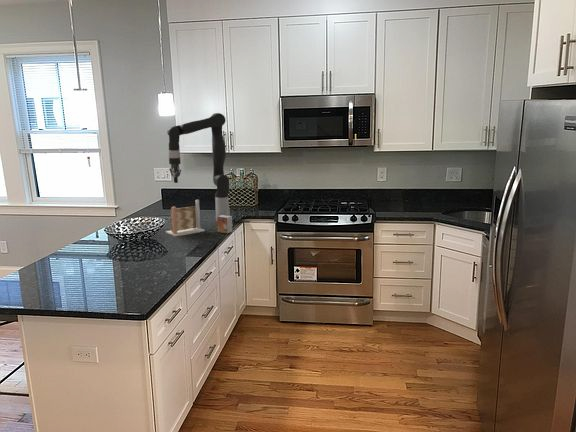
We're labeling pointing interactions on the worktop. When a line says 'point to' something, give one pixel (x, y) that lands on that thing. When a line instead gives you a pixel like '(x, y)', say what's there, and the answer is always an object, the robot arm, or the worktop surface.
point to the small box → (224, 224)
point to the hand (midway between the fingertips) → (175, 182)
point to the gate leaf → (185, 218)
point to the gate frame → (187, 231)
